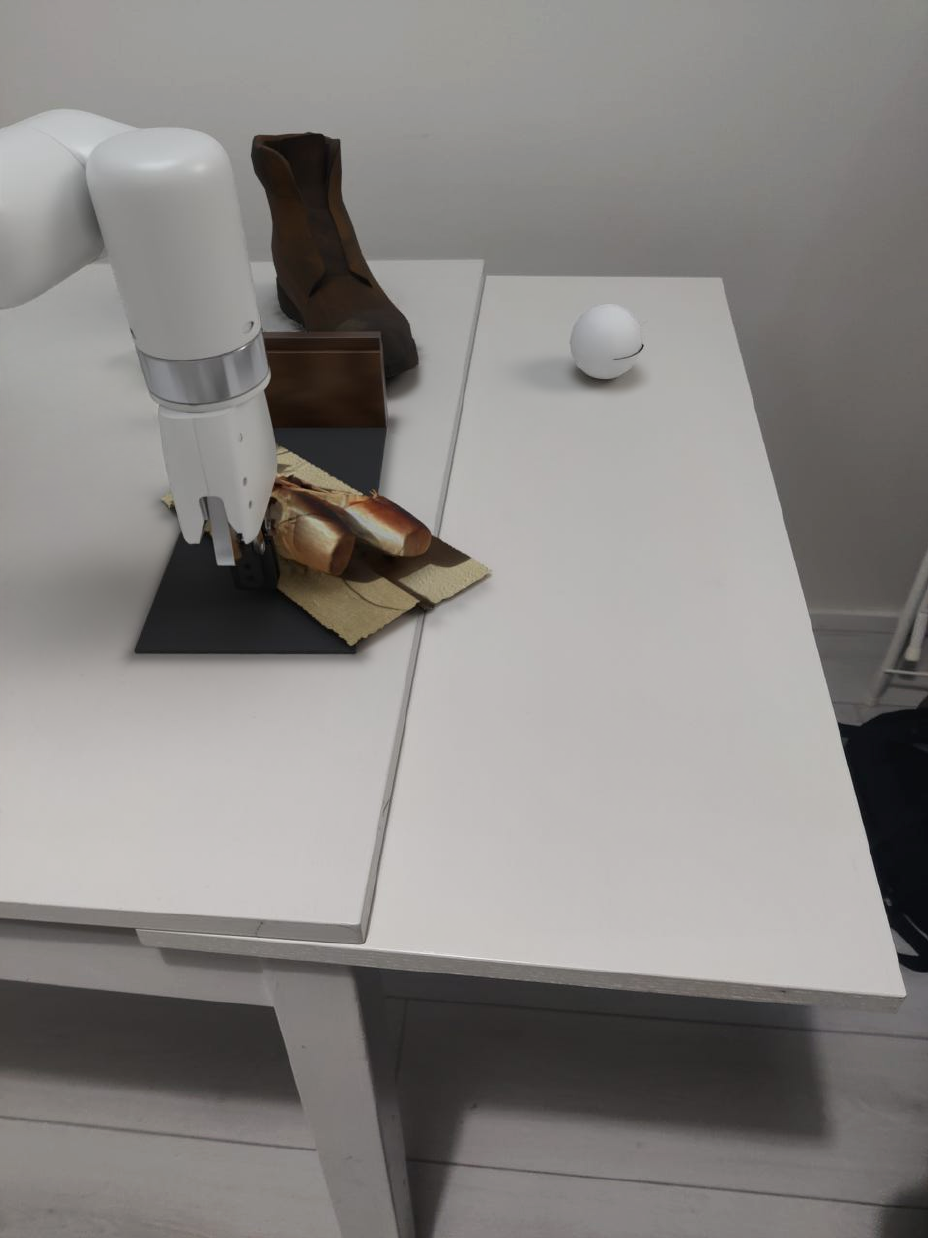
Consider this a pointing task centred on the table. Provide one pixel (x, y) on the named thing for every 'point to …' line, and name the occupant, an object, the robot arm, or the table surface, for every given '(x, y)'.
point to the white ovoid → (606, 341)
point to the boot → (323, 246)
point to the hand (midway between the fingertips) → (258, 582)
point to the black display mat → (255, 619)
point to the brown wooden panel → (326, 380)
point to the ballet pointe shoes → (355, 552)
